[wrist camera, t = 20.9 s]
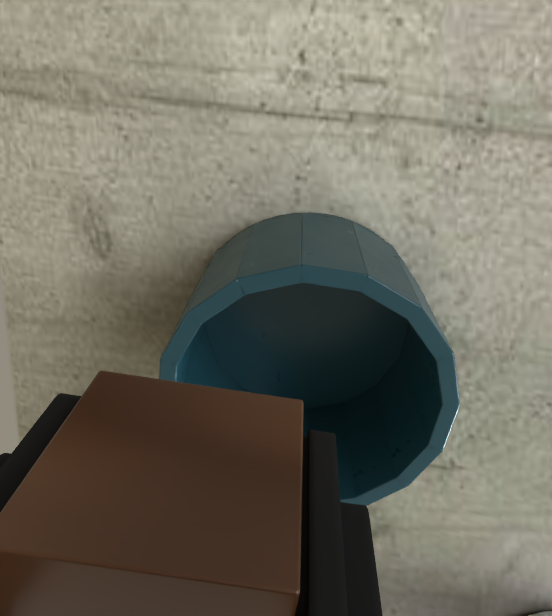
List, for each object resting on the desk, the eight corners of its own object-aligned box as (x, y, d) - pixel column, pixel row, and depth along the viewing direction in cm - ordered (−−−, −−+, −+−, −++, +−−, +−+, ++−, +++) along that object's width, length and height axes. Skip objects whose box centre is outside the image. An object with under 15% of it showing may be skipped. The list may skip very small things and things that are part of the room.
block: (103, 516, 11) (7, 722, 8) (99, 369, 10) (-26, 545, 6) (276, 541, 11) (261, 759, 8) (304, 399, 10) (300, 593, 6)
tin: (187, 395, 33) (153, 493, 26) (204, 194, 28) (165, 243, 20) (388, 426, 34) (413, 531, 26) (447, 232, 28) (501, 295, 20)
